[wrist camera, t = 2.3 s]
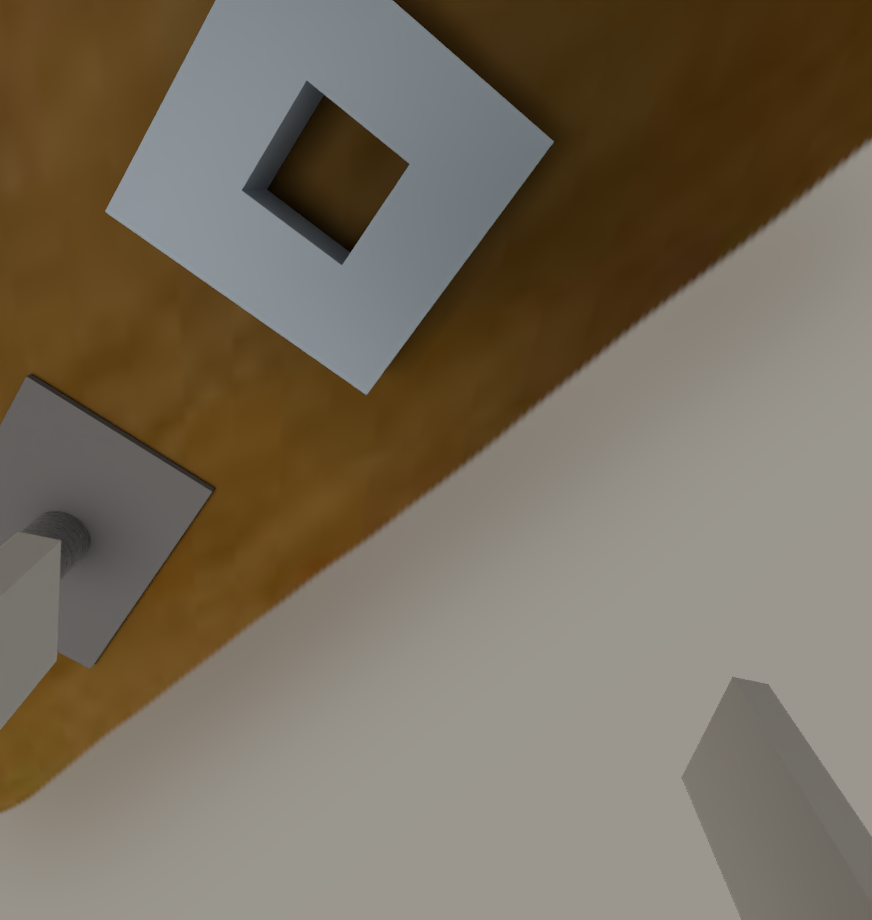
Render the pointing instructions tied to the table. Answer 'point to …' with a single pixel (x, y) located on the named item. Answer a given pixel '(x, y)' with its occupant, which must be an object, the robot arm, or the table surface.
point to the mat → (93, 507)
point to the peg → (63, 536)
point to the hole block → (270, 141)
